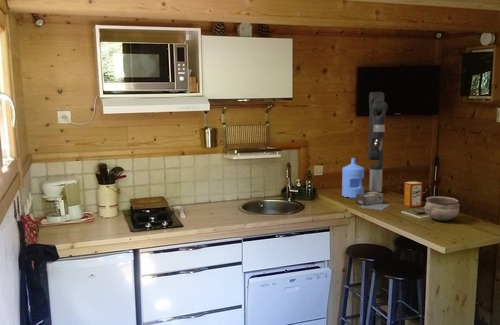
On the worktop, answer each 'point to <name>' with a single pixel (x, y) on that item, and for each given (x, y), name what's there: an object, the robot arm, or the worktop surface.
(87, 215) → the worktop surface
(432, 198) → the cooking pot
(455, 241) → the worktop surface
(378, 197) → the coffee box
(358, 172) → the water jug
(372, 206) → the mat
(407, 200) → the baking soda box
